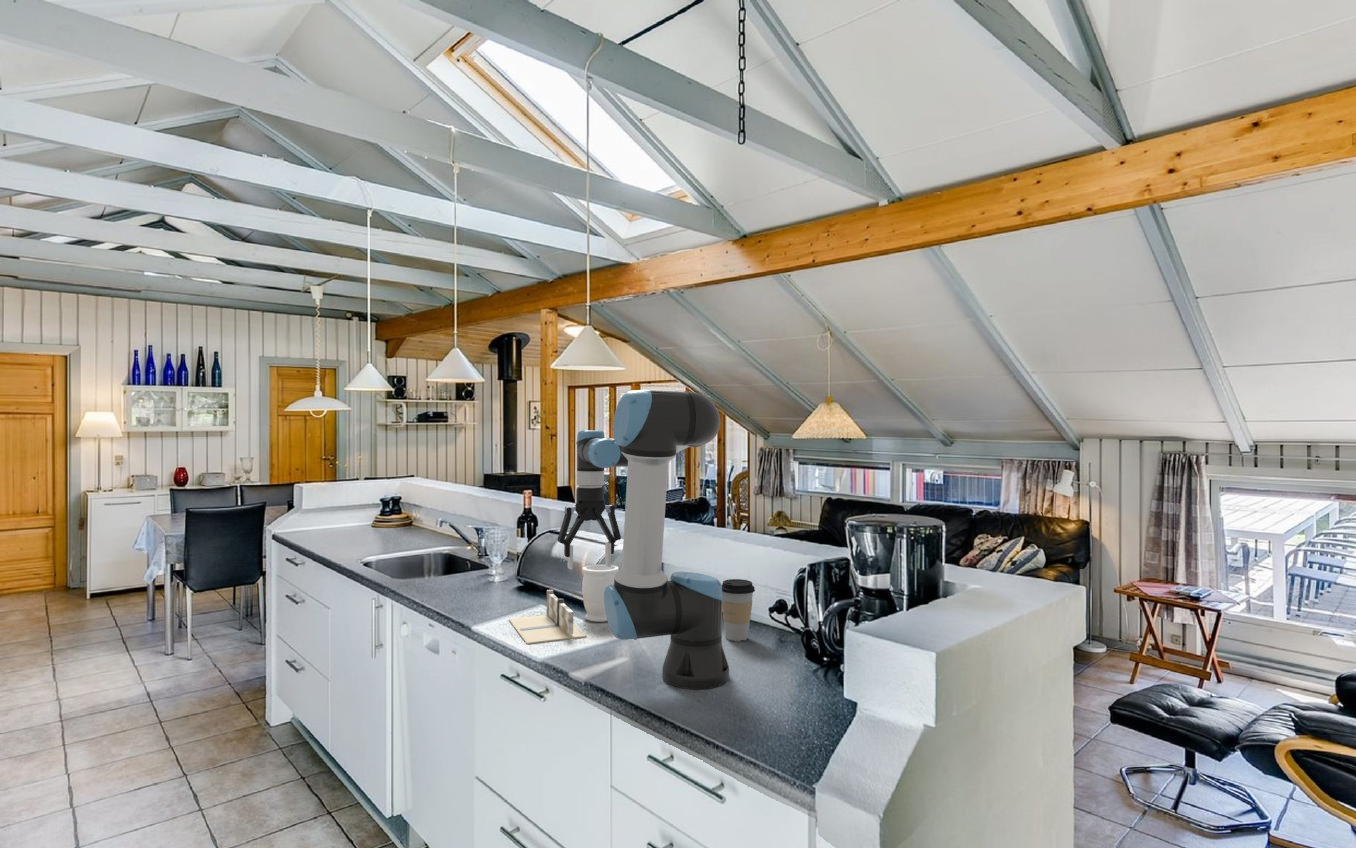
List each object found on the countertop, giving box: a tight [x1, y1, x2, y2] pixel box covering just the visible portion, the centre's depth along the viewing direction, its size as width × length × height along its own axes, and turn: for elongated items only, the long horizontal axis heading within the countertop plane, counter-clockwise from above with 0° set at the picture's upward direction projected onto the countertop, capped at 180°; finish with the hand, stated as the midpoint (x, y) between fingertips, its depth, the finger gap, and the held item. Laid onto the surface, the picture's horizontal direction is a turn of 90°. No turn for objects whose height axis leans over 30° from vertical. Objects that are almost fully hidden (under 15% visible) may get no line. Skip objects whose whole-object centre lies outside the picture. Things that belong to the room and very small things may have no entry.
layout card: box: [508, 614, 587, 645], centre depth 195 cm, size 24×16×1 cm, turn 24°
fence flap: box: [557, 598, 574, 635], centre depth 192 cm, size 12×2×7 cm, turn 24°
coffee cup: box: [721, 578, 756, 642], centre depth 188 cm, size 9×9×15 cm
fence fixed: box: [546, 589, 560, 626], centre depth 201 cm, size 14×2×7 cm, turn 24°
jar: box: [581, 563, 620, 623], centre depth 205 cm, size 11×10×15 cm
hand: (589, 567), depth 192 cm, fingers open, 10 cm apart
